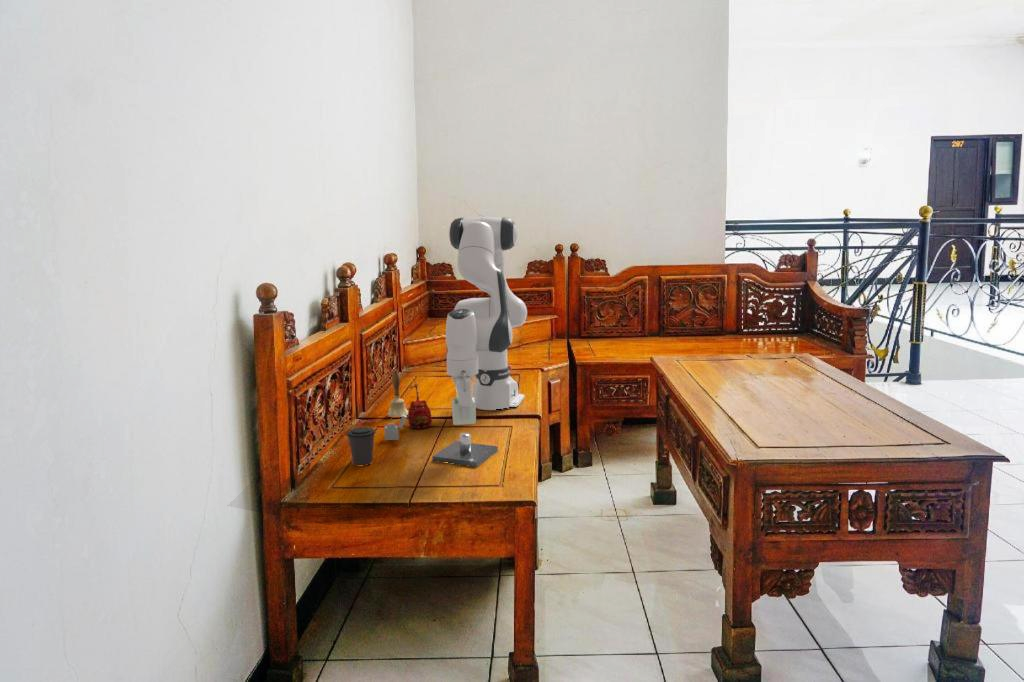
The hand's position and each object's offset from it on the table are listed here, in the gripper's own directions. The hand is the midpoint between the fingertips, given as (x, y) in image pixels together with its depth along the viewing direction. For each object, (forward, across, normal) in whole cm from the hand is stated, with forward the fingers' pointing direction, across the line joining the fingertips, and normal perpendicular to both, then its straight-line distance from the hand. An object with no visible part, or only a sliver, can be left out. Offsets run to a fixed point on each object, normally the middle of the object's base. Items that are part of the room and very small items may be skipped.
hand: (464, 415), depth 206 cm
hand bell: (+12, +46, +21) cm, 52 cm away
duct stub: (+12, 0, 0) cm, 12 cm away
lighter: (+12, +19, +20) cm, 31 cm away
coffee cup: (+13, 0, +29) cm, 32 cm away
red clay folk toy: (+12, +31, +13) cm, 36 cm away
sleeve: (+2, 0, 0) cm, 2 cm away
